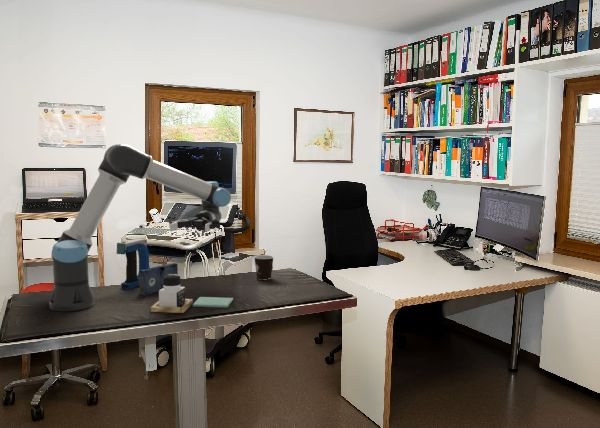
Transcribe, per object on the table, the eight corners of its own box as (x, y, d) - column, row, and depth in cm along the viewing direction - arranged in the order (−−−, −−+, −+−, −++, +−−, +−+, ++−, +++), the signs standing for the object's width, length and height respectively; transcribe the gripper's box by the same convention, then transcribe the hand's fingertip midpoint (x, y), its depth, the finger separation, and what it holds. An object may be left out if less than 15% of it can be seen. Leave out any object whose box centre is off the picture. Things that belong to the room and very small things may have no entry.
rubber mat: (192, 306, 186) (192, 304, 186) (200, 298, 196) (200, 296, 196) (227, 307, 185) (227, 305, 185) (233, 299, 195) (233, 297, 195)
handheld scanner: (116, 289, 208) (115, 242, 206) (141, 281, 223) (141, 237, 220) (124, 291, 206) (124, 244, 204) (150, 282, 221) (149, 238, 219)
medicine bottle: (177, 311, 180) (176, 278, 179) (158, 309, 182) (158, 277, 181) (185, 305, 187) (185, 273, 186) (167, 304, 189) (167, 272, 188)
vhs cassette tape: (174, 285, 217) (173, 262, 216) (179, 286, 215) (178, 263, 214) (138, 294, 202) (138, 270, 201) (143, 295, 200) (142, 271, 199)
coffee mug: (254, 276, 233) (254, 255, 232) (272, 276, 234) (272, 255, 233) (254, 282, 222) (254, 260, 221) (274, 282, 223) (274, 260, 222)
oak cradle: (150, 311, 179) (150, 307, 179) (162, 302, 191) (162, 298, 191) (183, 312, 178) (183, 308, 178) (193, 303, 190) (192, 299, 190)
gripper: (233, 229, 209) (221, 238, 188) (175, 229, 212) (156, 237, 191) (233, 211, 209) (220, 218, 188) (175, 211, 211) (155, 217, 190)
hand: (188, 227), depth 189 cm, fingers open, 13 cm apart
